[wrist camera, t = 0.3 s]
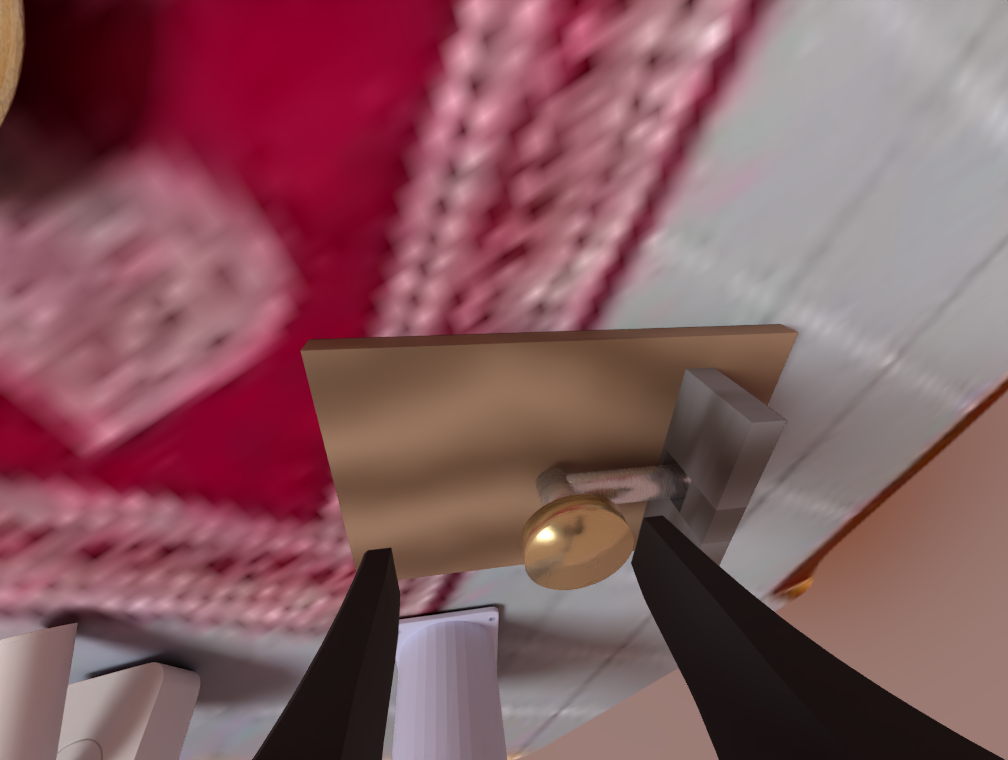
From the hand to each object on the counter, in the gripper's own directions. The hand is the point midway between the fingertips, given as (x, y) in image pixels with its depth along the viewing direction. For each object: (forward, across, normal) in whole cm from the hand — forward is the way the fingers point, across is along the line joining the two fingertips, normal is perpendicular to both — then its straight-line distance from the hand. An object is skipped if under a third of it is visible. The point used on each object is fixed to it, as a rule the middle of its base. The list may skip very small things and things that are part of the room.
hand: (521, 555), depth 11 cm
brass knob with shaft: (+8, -7, +5) cm, 12 cm away
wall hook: (+11, +25, +19) cm, 33 cm away
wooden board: (+10, -4, +5) cm, 12 cm away
